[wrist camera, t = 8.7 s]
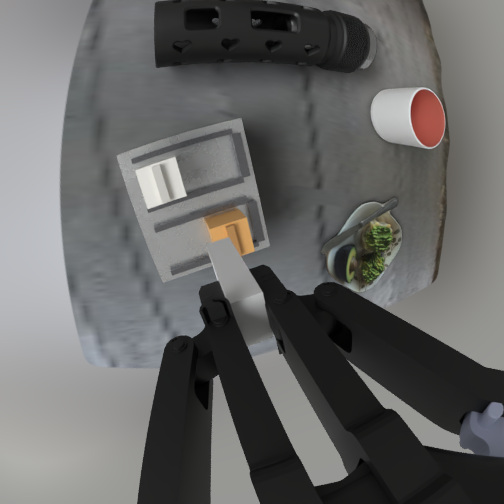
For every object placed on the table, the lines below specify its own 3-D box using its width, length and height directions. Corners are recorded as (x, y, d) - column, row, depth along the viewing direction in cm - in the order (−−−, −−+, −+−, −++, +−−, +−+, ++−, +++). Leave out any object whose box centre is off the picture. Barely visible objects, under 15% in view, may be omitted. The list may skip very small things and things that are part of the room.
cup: (362, 133, 42) (404, 137, 33) (371, 81, 38) (412, 76, 29) (400, 148, 45) (440, 156, 36) (408, 101, 41) (448, 102, 33)
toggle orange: (238, 208, 32) (248, 218, 28) (246, 239, 34) (256, 253, 30) (204, 219, 31) (210, 231, 28) (214, 250, 33) (220, 265, 30)
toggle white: (174, 154, 28) (175, 157, 24) (184, 189, 29) (187, 197, 26) (138, 166, 27) (134, 171, 23) (149, 201, 29) (147, 210, 25)
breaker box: (226, 121, 35) (243, 117, 27) (251, 226, 42) (272, 249, 35) (126, 152, 33) (114, 156, 25) (162, 256, 40) (163, 286, 32)
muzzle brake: (156, 20, 26) (155, -14, 17) (336, 29, 33) (376, 12, 24) (157, 78, 30) (154, 58, 21) (341, 79, 37) (384, 71, 28)
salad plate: (368, 170, 45) (385, 175, 41) (411, 223, 53) (426, 230, 49) (306, 258, 48) (318, 270, 44) (360, 296, 56) (372, 307, 52)
